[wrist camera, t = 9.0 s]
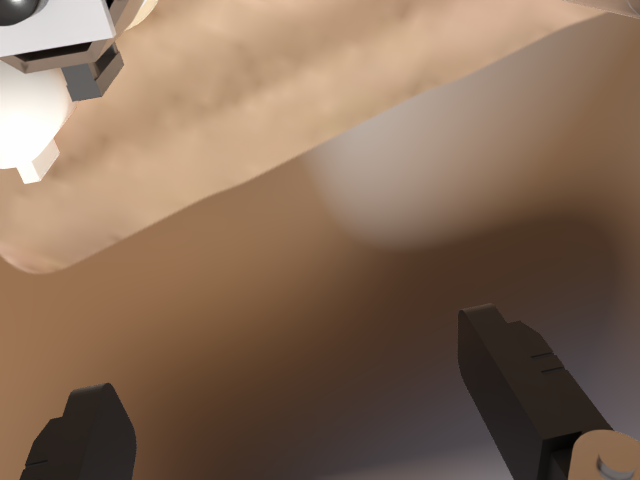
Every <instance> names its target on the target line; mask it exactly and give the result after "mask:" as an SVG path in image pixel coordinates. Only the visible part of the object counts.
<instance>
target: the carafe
mask: <svg viewBox="0 0 640 480" xmlns="http://www.w3.org/2000/svg"><path fill="white" fill-rule="evenodd" d="M157 2H158V0H49V1H48V3H47V5H46V6H45V7H44V8H43V10H41V11H40V12H39V13H37V14H36V15H34V16H32V17H30V18H28V19H26V20H24V21H22V22H20V23H17V24H15V25H11V26H0V60H2V61H3V62H5V63H7V64H9V65H10V66H12V67H14V68H16V69H17V70H19V71H21V72H23V73H24V74H27V73H33V72H39V71H45V70H50V69H56V68H61V70H62V72H63V75H64V77H65V80H66V82H67V85H66V87H67V89H68V92H69V94H70V97H71V99H72V102H75V101H81V100H86V99H92V98H98V97H102V96H103V94H104V93H105V91H106V90H107V89H108V87H109V86H110V84H111V83H112V81H113V80H114V79H115V77H116V76H117V74H118V73H119V71H120V70H121V69H122V67H123V66H124V63H123V60H122V57H121V54H120V51H118V49H117V46H116V43H115V40H116V39H117V38H118V37H119V36H120V35H121V34H122V33H123V31H125V30H128V29H130V28H132V27H134V26H135V25H137V24H139V23H140V22H141V21H142V20H144V19H145V18H146V17H147V16H148V14H149V13H150V12H151V11H152V10H153V8H154V7H155V5H156V4H157Z"/></svg>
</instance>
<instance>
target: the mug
mask: <svg viewBox="0 0 640 480" xmlns="http://www.w3.org/2000/svg"><path fill="white" fill-rule="evenodd" d="M66 85H67V82H66V80H65V77H64V75H63V72H62V70H61V68H56V69H50V70H45V71H39V72H33V73H27V74H24V73H23V72H21V71H19V70H17V69H16V68H14V67H12V66H10V65H9V64H7V63H5V62H3V61H2V60H0V169H6V168H14V167H17V169H18V171H19V173H20V175H21V177H22V179H23V181H24V183H25V184H26V183H32V182H37V181H41V179H42V178H43V177H44V175H45V174H46V172H47V171H48V170H49V168H50V167H51V165H52V164H53V162H54V161H55V160H56V158H57V157H58V155H59V154H60V153H59V150H58V148H57V146H56V144H55V141H54V139H53V137H54V136H55V135H56V133H57V132H58V131H59V130H60V128H61V127H62V126H63V124H64V123H65V122H66V121H67V119H68V118H69V117H70V116H71V114H72V113H73V112H74V110H75V109H76V107H77V105H78V103H79V101H75V102H72V99H71V97H70V94H69V92H68V89H67V87H66Z"/></svg>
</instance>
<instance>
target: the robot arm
mask: <svg viewBox="0 0 640 480" xmlns="http://www.w3.org/2000/svg"><path fill="white" fill-rule="evenodd" d="M563 1H567V2H571V3H575V4H579V5H584V6H588V7H592V8H596V9H601V10H605V11H609V12H613V13H618V14H622V15H626V16H630V17H635V18H639V19H640V0H563ZM457 359H458V365H459V370H460V373H461V376H462V379H463V382H464V384H465V386H466V388H467V390H468V392H469V394H470V396H471V397H472V399H473V401H474V403H475V405H476V407H477V409H478V411H479V413H480V415H481V417H482V419H483V421H484V423H485V424H486V426H487V428H488V430H489V432H490V434H491V436H492V438H493V440H494V442H495V444H496V446H497V448H498V450H499V452H500V454H501V456H502V458H503V460H504V461H505V463H506V465H507V467H508V469H509V471H510V473H511V475H512V477H513V479H514V480H640V442H638V441H637V440H635V439H634V438H632V437H630V436H628V435H625V434H623V433H619V432H616V431H614V430H613V429H612V428H611V426H610V425H609V424H608V423H607V422H606V420H605V419H604V418H603V416H602V415H601V414H600V412H599V411H598V410H597V408H596V407H595V406H594V405H593V403H592V402H591V400H590V399H589V398H588V397H587V395H586V394H585V393H584V391H583V390H582V389H581V388H580V386H579V385H578V384H577V382H576V381H575V379H574V378H573V377H572V376H571V374H570V373H569V372H568V371H567V370H565V368H564V365H563V364H562V362H561V361H560V360H559V359H558V357H557V356H556V355H554V353H553V350H552V349H551V348H550V347H549V345H548V344H547V343H546V341H545V340H544V339H543V337H542V336H541V335H540V334H539V333H538V332H536V331H534V330H533V329H532V328H530V327H528V326H527V325H525V324H524V323H522V322H521V321H516V322H512V323H507V322H506V321H505V320H504V318H503V317H502V315H501V314H500V313H499V311H498V310H497V308H496V307H495V306H494V305H493V304H486V305H481V306H476V307H471V308H467V309H462V310H459V312H458V334H457ZM136 446H137V444H136V435H135V431H134V427H133V425H132V423H131V421H130V419H129V417H128V415H127V413H126V411H125V409H124V407H123V405H122V403H121V401H120V399H119V397H118V395H117V393H116V391H115V389H114V387H113V386H112V385H111V384H110V383H104V384H99V385H94V386H89V387H85V388H80V389H76V390H73V391H72V392H71V393H70V395H69V398H68V401H67V404H66V407H65V410H64V413H63V416H62V417H59V418H54V419H51V420H50V421H49V422H48V424H47V425H46V426H45V428H44V429H43V430H42V431H41V433H40V434H39V435H38V437H37V438H36V439H35V440H34V442H33V445H32V447H31V450H30V453H29V455H28V458H27V461H26V464H25V466H26V468H25V469H24V470H23V472H22V475H21V477H20V480H132V476H133V469H134V464H135V457H136V449H137V447H136Z"/></svg>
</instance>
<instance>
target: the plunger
mask: <svg viewBox="0 0 640 480" xmlns="http://www.w3.org/2000/svg"><path fill="white" fill-rule="evenodd" d="M48 1H49V0H0V26H11V25H15V24H17V23H20V22H22V21H24V20H26V19H28V18H30V17H32V16H34V15H36V14H37V13H39V12H40V11H41V10H43V8H44V7H45V6H46V5H47V3H48Z"/></svg>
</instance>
